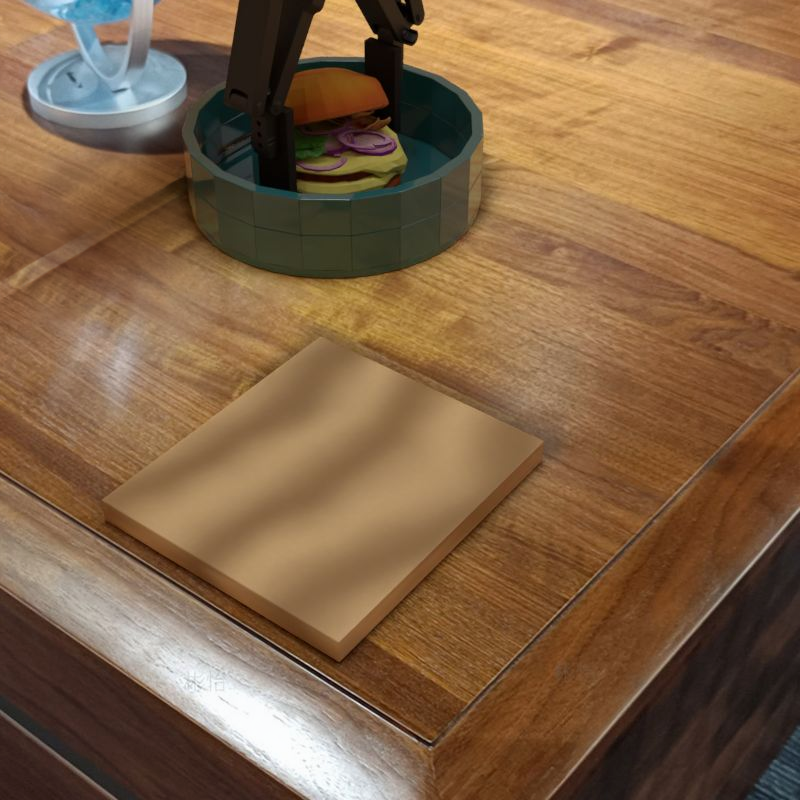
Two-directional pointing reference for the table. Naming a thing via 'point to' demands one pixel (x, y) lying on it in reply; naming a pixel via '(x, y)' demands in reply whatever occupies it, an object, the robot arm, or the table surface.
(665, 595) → the table surface
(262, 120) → the robot arm
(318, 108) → the cheeseburger
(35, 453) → the table surface
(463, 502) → the board
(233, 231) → the bowl
